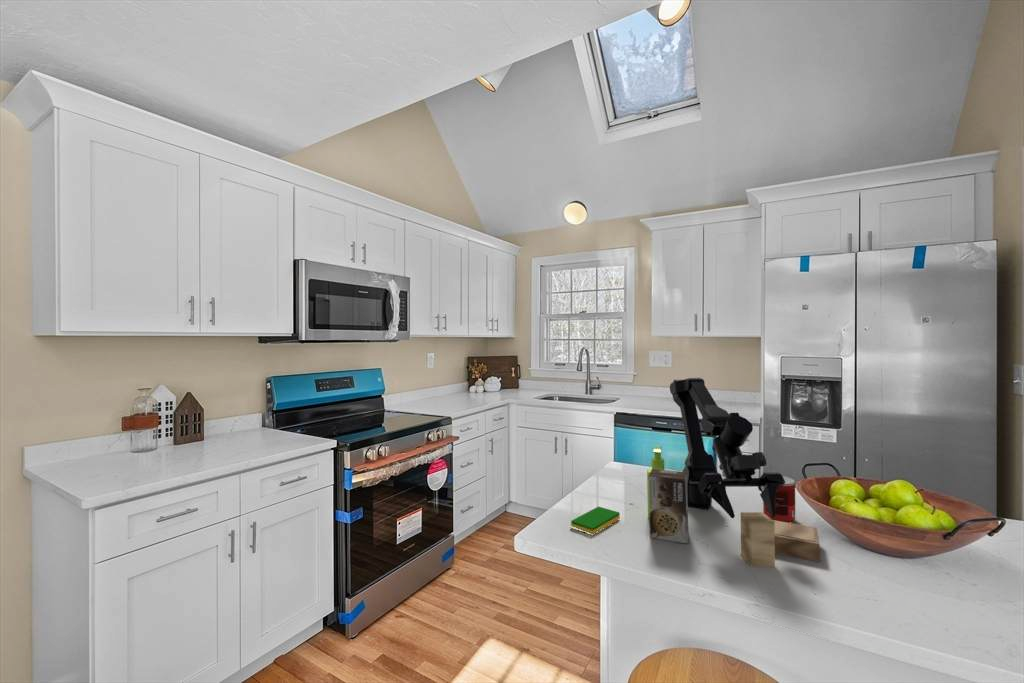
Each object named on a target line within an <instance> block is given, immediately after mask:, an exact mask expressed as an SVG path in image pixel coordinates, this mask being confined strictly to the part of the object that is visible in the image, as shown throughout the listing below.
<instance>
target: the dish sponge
mask: <svg viewBox="0 0 1024 683" xmlns="http://www.w3.org/2000/svg"><path fill="white" fill-rule="evenodd" d="M620 515H621V514H620V512H618V511H616V510H612V509H609V508H605V507H601V506H596V507H595V508H593V509H591V510H588V511H587V512H585V513H583V514H582V515H579V516H578V517H576V518H573V519H571V521H570V526H573V527H576V528H578V529H581V530H583V531H586V532H589V533H591V534H594V533H596V532H597V531H600V530H601V529H603V528H605V527H607V526H608V525H610V524H612V523H614V522H615V521H617V520H618V519H620V518H621V517H620ZM620 520H621V519H620ZM618 521H619V520H618ZM618 521H617V522H618ZM615 523H616V522H615ZM615 523H614V524H615ZM612 525H613V524H612ZM610 526H611V525H610ZM607 528H608V527H607ZM605 529H606V528H605ZM600 532H601V531H600Z"/></svg>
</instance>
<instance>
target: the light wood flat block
mask: <svg viewBox="0 0 1024 683" xmlns="http://www.w3.org/2000/svg"><path fill="white" fill-rule="evenodd" d="M773 521H774V527H775V554H779V555H784V556H790V557H794V558H798V559H799V558H800V559H804V560H808V561H813V562H817V561H818V563H820V562H821V554H820V553H821V550H820V549H821V547H820V546H821V544H820V537H819V533H818V528H817V527H815V526H810V525H804V524H798V523H795V522H793V523H788V522H782V521H776V520H773Z"/></svg>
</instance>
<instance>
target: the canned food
mask: <svg viewBox="0 0 1024 683" xmlns="http://www.w3.org/2000/svg"><path fill="white" fill-rule="evenodd" d="M782 476H783V478H784V480H785V483H784V485H783V486H782V487H781V488H780V489H779V491H778V492H776V493H775V517H774V518H772V517H771V516H770V514H769V512H768V510H767V508H766V506H765V504H764V502H763V501H762V505H763V506H762V508H763V512H762V513H764V514H765V515H767V516H768V517H769V518H771V519H772V520H776V521H782V522H788V523H790V522H793V521H794V522H795V521H796V481H795V480H794V479H793V478H791V477H788V476H785V475H782ZM794 522H793V523H794Z"/></svg>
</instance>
